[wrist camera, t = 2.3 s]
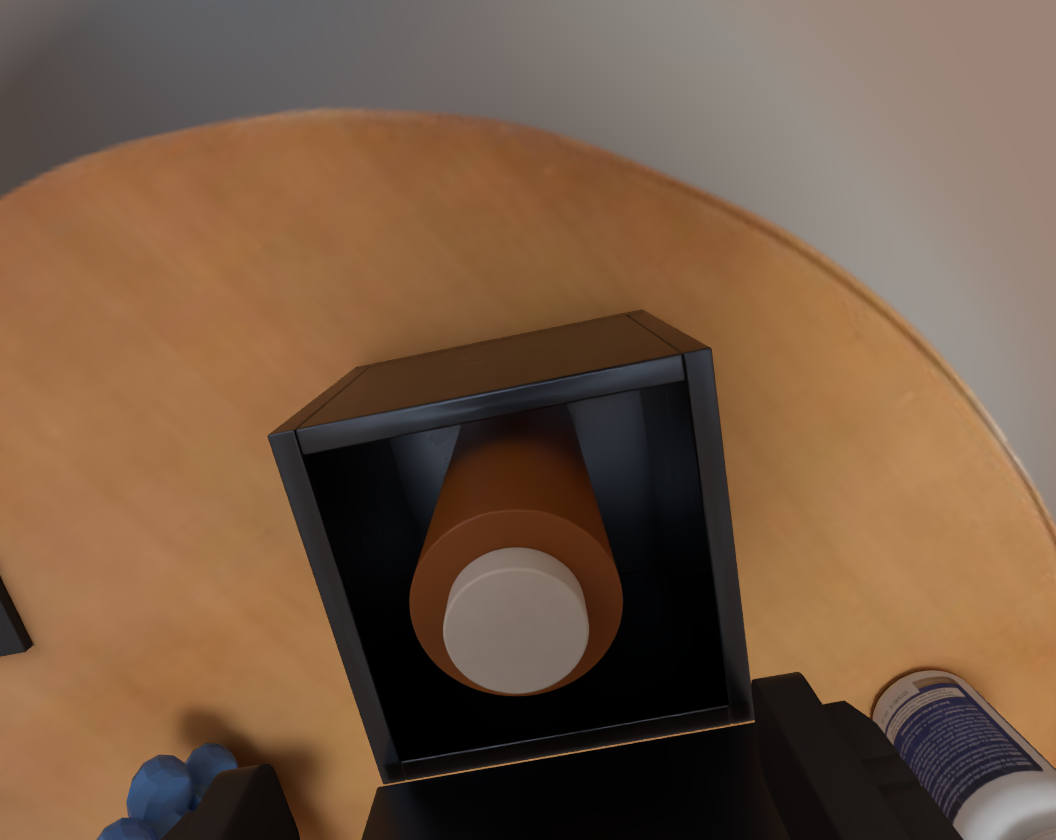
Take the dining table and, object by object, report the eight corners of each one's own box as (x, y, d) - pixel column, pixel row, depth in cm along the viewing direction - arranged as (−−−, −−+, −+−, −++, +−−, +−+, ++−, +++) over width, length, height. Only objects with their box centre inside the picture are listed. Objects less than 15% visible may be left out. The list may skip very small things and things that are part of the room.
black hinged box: (355, 367, 27) (266, 435, 17) (643, 309, 26) (712, 347, 17) (425, 615, 30) (382, 785, 21) (680, 569, 30) (755, 721, 20)
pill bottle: (849, 734, 33) (982, 933, 23) (902, 653, 31) (1066, 829, 22) (937, 763, 33) (1101, 969, 24) (993, 685, 32) (1189, 869, 22)
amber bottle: (448, 394, 26) (374, 553, 13) (563, 371, 26) (610, 509, 13) (474, 500, 28) (431, 744, 14) (584, 479, 28) (645, 707, 14)
